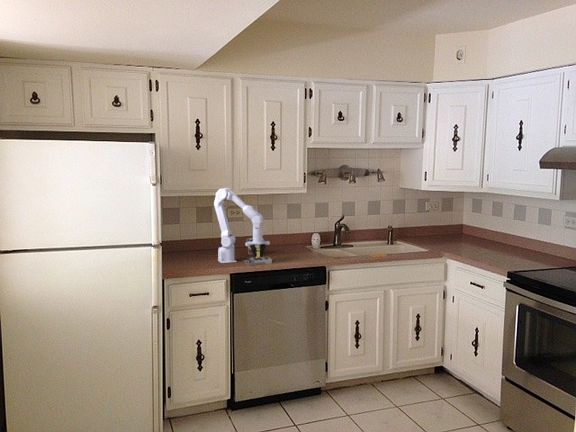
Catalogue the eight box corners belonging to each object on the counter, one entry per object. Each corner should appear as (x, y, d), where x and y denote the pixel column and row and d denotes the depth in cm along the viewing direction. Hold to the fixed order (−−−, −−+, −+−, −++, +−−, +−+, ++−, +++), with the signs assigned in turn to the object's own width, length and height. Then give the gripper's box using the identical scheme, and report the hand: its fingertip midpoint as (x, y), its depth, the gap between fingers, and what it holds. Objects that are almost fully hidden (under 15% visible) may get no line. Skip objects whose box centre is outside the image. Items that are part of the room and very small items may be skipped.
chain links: (247, 265, 299) (247, 260, 299) (243, 262, 306) (243, 257, 306) (271, 263, 305) (271, 258, 305) (267, 260, 312) (267, 255, 312)
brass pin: (255, 262, 303) (255, 249, 302) (253, 260, 307) (253, 247, 306) (262, 261, 305) (262, 248, 304) (260, 260, 308) (259, 247, 307)
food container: (267, 253, 334) (267, 238, 332) (264, 255, 328) (264, 239, 327) (250, 252, 338) (250, 237, 337) (246, 253, 332) (246, 238, 331)
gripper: (248, 236, 297) (248, 259, 299) (271, 235, 303) (271, 257, 304) (244, 234, 303) (244, 257, 305) (267, 233, 309) (267, 255, 311)
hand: (257, 257), depth 305 cm, fingers closed on brass pin, 4 cm apart
